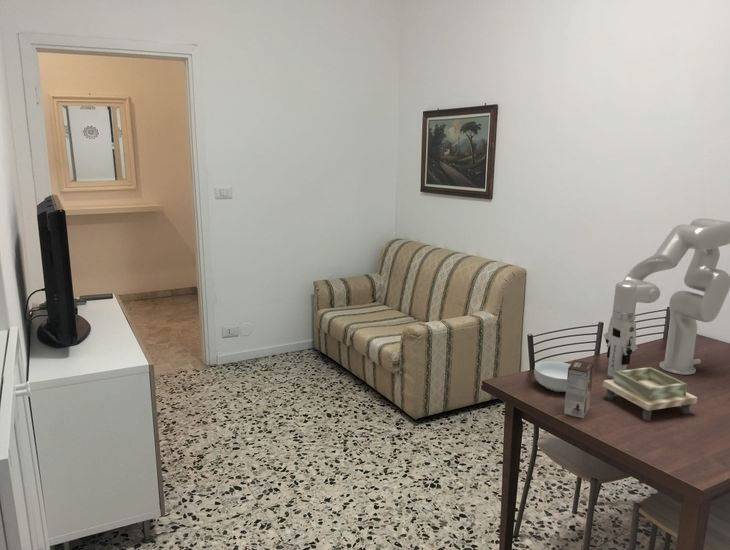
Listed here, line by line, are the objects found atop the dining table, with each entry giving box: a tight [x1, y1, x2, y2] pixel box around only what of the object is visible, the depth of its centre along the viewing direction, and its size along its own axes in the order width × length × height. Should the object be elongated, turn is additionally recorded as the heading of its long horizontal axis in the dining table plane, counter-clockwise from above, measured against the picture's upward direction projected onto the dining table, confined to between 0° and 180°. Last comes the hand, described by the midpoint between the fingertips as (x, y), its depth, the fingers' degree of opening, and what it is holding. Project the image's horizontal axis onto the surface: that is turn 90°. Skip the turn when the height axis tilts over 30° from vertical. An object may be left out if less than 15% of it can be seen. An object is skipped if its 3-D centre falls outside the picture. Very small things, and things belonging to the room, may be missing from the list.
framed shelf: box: [602, 366, 698, 422], centre depth 187 cm, size 20×20×10 cm
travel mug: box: [607, 328, 628, 380], centre depth 209 cm, size 6×7×20 cm
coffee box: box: [563, 359, 595, 419], centre depth 181 cm, size 9×6×16 cm
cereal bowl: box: [533, 360, 571, 393], centre depth 200 cm, size 17×17×7 cm
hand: (617, 360), depth 210 cm, fingers open, 6 cm apart
